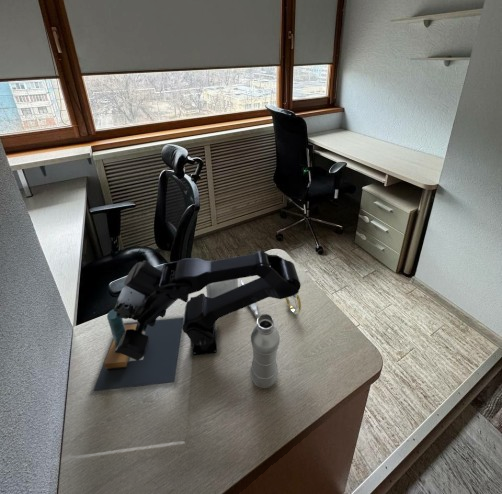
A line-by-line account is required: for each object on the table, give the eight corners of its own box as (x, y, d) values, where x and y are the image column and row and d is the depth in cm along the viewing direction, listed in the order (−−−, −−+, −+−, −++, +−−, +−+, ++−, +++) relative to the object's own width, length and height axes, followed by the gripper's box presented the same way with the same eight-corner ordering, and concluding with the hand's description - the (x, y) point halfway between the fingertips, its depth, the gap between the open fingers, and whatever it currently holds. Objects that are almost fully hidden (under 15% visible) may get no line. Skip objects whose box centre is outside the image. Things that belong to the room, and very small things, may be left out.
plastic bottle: (249, 364, 69) (248, 309, 62) (275, 361, 70) (277, 307, 62) (251, 393, 63) (251, 337, 56) (279, 390, 64) (283, 334, 56)
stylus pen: (261, 316, 81) (261, 312, 81) (253, 320, 80) (253, 315, 80) (244, 280, 94) (244, 276, 93) (237, 282, 93) (236, 278, 93)
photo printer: (233, 291, 90) (232, 262, 86) (240, 300, 87) (239, 271, 82) (205, 306, 85) (202, 276, 80) (211, 316, 82) (209, 286, 77)
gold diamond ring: (302, 317, 81) (304, 298, 78) (293, 321, 80) (294, 302, 77) (290, 299, 87) (291, 280, 84) (281, 302, 86) (282, 284, 83)
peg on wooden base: (139, 331, 77) (130, 296, 72) (127, 369, 68) (116, 332, 63) (121, 332, 77) (111, 297, 71) (106, 371, 68) (94, 334, 62)
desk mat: (183, 318, 81) (183, 317, 81) (174, 382, 66) (174, 381, 65) (118, 324, 80) (118, 323, 79) (93, 392, 64) (92, 391, 64)
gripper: (143, 256, 73) (109, 289, 76) (118, 320, 55) (76, 360, 59) (176, 276, 76) (142, 307, 80) (162, 341, 59) (120, 378, 62)
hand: (122, 333), depth 70 cm, fingers open, 9 cm apart
